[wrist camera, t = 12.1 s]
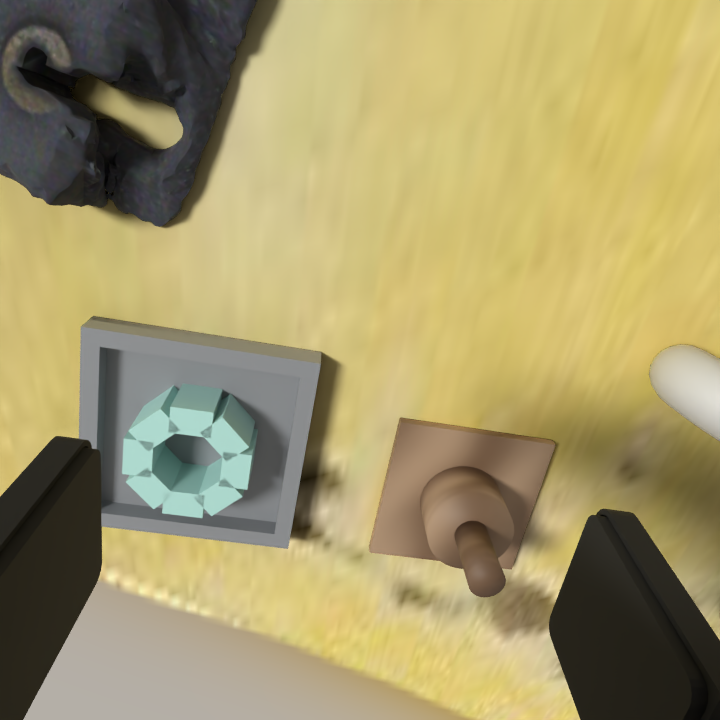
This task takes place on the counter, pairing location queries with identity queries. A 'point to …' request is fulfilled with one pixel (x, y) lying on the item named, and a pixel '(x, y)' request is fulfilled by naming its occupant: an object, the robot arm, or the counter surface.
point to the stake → (460, 498)
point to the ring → (181, 480)
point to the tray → (210, 369)
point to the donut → (689, 385)
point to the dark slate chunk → (126, 71)
